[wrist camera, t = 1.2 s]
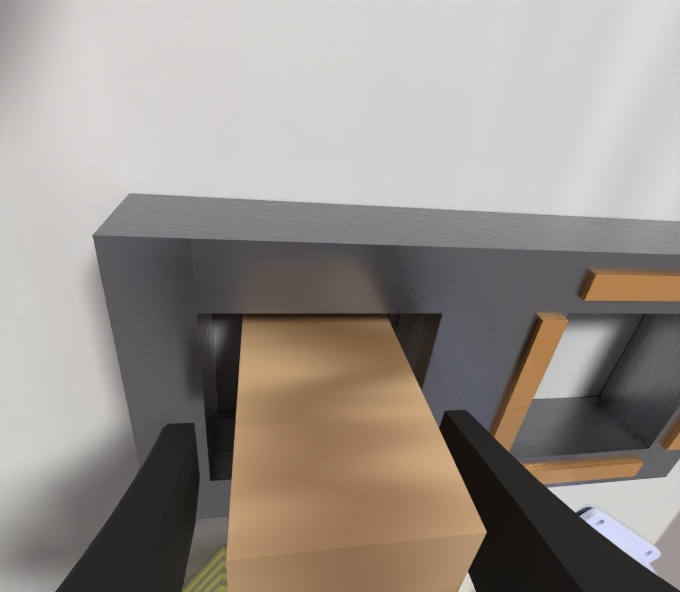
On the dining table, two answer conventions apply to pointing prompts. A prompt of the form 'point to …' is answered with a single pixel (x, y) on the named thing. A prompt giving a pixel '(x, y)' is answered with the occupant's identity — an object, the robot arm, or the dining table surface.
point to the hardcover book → (211, 575)
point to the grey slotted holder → (404, 318)
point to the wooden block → (340, 465)
